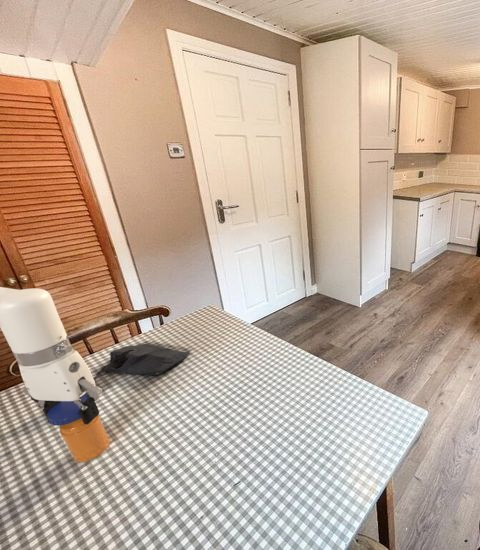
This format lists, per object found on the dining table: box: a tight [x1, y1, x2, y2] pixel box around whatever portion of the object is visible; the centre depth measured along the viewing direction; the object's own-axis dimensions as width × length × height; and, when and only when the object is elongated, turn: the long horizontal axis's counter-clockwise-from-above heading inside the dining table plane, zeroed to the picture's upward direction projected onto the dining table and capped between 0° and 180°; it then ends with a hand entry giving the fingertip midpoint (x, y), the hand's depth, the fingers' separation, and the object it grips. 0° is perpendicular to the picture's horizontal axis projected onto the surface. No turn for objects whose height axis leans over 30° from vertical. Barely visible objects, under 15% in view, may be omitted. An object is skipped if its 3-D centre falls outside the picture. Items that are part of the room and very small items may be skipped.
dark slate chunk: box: [101, 343, 190, 376], centre depth 98 cm, size 15×22×5 cm
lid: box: [46, 395, 88, 427], centre depth 65 cm, size 7×7×2 cm
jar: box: [58, 414, 111, 463], centre depth 68 cm, size 6×6×9 cm
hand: (74, 417), depth 66 cm, fingers closed on lid, 7 cm apart
